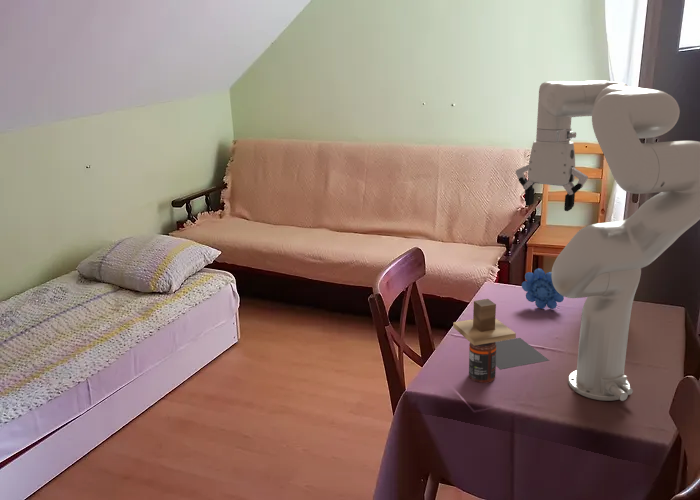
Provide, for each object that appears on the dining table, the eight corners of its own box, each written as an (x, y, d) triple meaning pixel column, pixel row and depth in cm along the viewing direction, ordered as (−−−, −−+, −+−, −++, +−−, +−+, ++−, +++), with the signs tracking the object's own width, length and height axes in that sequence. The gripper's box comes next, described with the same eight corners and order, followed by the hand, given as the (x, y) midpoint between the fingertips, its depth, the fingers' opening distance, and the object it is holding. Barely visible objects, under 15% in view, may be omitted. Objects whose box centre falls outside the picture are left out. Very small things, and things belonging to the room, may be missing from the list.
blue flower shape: (518, 312, 178) (520, 272, 174) (521, 303, 184) (523, 264, 180) (562, 316, 174) (565, 275, 170) (563, 307, 180) (566, 267, 176)
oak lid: (515, 338, 137) (517, 307, 135) (474, 345, 134) (475, 314, 132) (492, 320, 146) (493, 291, 144) (453, 327, 143) (453, 297, 141)
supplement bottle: (493, 371, 146) (495, 327, 143) (496, 384, 140) (498, 338, 137) (467, 371, 147) (468, 326, 143) (469, 384, 141) (470, 338, 138)
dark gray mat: (549, 361, 150) (549, 360, 150) (500, 370, 146) (500, 369, 146) (520, 339, 162) (520, 337, 162) (474, 347, 158) (474, 345, 158)
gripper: (596, 136, 145) (589, 208, 150) (525, 132, 155) (521, 200, 160) (584, 140, 139) (578, 215, 144) (511, 135, 150) (508, 206, 155)
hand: (548, 207), depth 152 cm, fingers open, 9 cm apart
